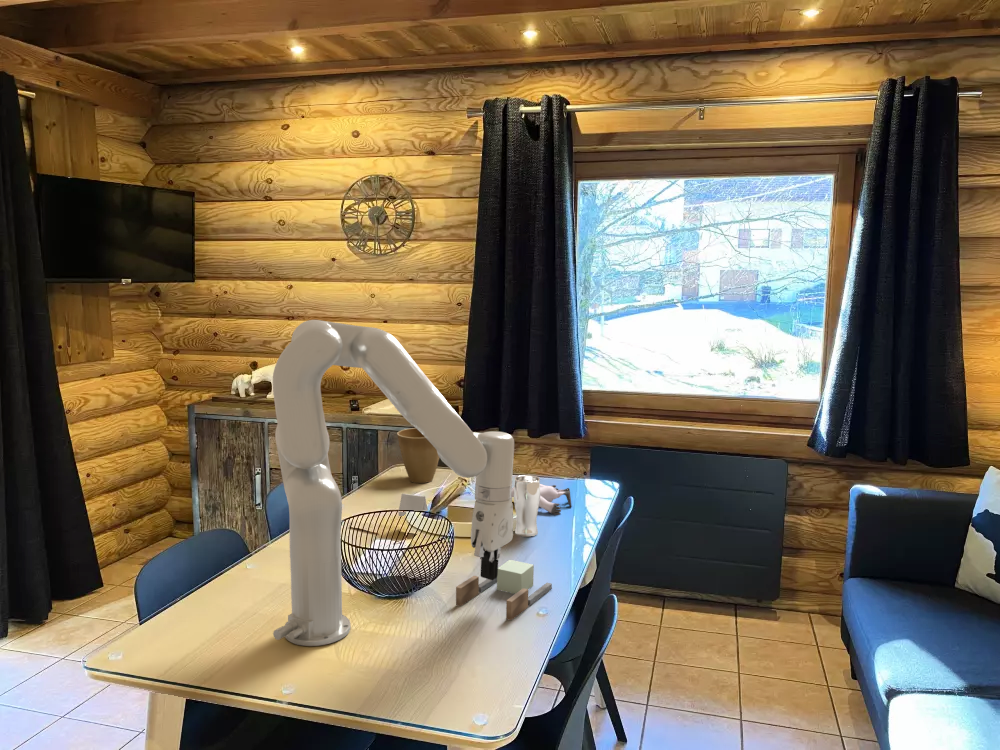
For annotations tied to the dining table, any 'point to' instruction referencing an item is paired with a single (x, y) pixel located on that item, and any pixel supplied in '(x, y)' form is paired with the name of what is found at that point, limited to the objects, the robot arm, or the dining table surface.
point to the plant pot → (418, 455)
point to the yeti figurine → (550, 498)
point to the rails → (531, 598)
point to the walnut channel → (471, 590)
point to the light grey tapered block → (412, 503)
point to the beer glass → (526, 504)
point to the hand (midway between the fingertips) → (488, 577)
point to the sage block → (515, 576)
